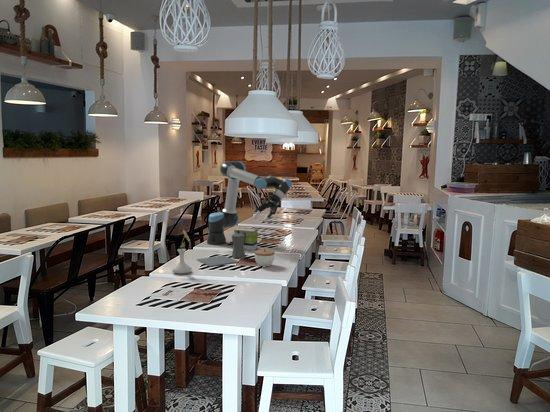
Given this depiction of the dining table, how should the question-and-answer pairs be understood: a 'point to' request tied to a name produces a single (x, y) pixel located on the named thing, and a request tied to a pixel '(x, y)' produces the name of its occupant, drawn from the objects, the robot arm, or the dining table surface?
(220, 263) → the mat
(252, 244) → the tea box
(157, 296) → the dining table surface
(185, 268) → the flower in vase
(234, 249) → the coffeepot
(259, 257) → the lidded bowl
